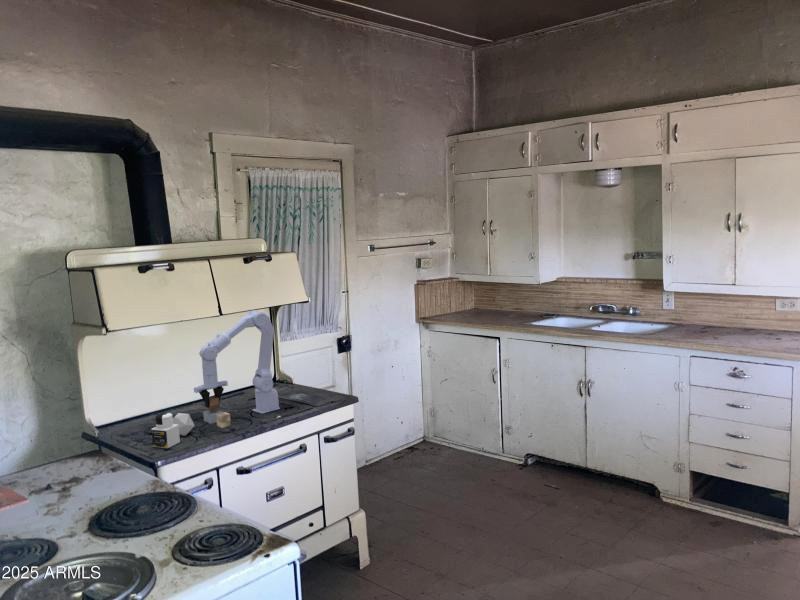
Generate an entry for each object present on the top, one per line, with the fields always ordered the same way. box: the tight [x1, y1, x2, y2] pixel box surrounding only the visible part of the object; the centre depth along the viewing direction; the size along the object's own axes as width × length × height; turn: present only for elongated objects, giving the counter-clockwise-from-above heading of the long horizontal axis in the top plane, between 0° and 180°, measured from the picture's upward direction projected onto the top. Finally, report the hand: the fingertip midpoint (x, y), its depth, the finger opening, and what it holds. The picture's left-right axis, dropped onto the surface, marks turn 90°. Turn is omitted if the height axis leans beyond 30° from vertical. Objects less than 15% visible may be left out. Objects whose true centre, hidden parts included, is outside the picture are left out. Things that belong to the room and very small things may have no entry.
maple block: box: [216, 411, 232, 429], centre depth 267 cm, size 4×4×5 cm
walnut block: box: [205, 396, 221, 412], centre depth 274 cm, size 4×4×5 cm
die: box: [173, 412, 195, 437], centre depth 258 cm, size 8×9×10 cm
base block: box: [202, 410, 224, 424], centre depth 275 cm, size 6×6×4 cm
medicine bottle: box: [150, 412, 181, 449], centre depth 246 cm, size 7×7×12 cm
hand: (212, 405), depth 274 cm, fingers closed on walnut block, 4 cm apart
